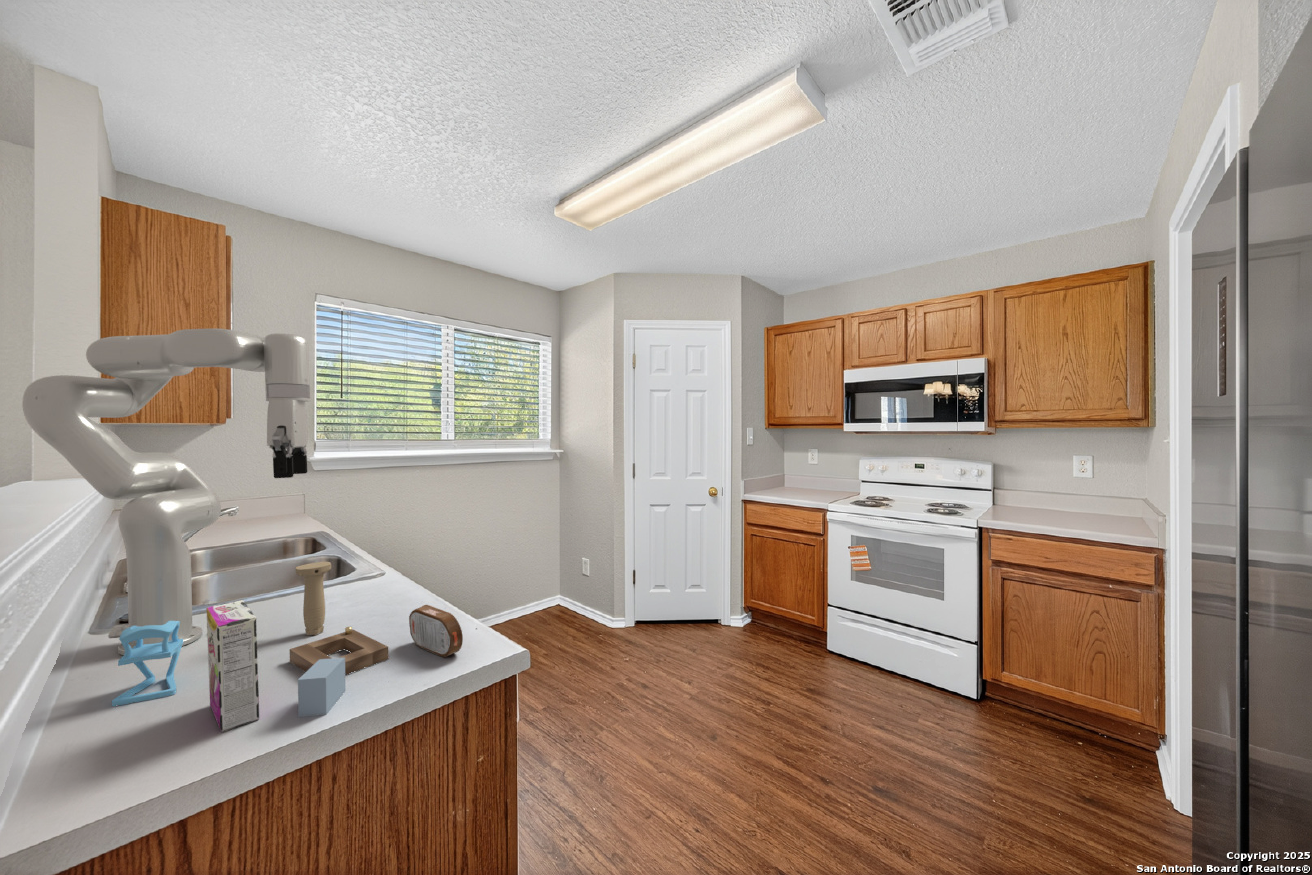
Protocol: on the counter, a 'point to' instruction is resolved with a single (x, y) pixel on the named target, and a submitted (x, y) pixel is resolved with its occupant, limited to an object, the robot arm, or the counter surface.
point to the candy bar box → (232, 664)
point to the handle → (313, 596)
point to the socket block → (358, 644)
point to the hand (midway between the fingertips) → (291, 475)
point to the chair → (149, 658)
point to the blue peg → (321, 687)
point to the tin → (435, 630)
